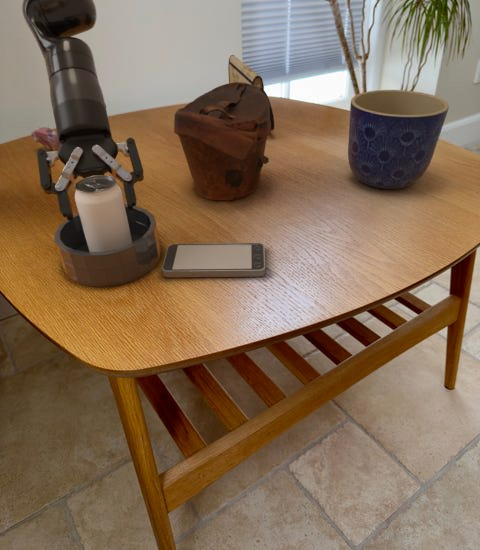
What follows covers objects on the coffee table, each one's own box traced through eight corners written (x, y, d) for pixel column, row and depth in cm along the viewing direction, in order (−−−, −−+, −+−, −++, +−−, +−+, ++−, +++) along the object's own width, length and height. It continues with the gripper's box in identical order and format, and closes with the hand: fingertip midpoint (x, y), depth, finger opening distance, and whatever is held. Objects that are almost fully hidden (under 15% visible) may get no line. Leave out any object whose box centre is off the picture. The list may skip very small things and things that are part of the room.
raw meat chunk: (42, 153, 108) (23, 132, 102) (54, 140, 110) (36, 118, 104) (68, 161, 104) (49, 139, 98) (79, 147, 105) (61, 125, 99)
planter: (356, 158, 97) (366, 85, 88) (436, 172, 90) (456, 95, 81) (329, 187, 85) (337, 108, 76) (418, 206, 78) (439, 121, 69)
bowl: (50, 288, 62) (38, 256, 58) (80, 234, 73) (72, 205, 70) (152, 285, 62) (146, 253, 58) (166, 232, 73) (162, 203, 70)
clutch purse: (281, 140, 107) (283, 75, 98) (254, 143, 106) (253, 77, 97) (250, 107, 131) (250, 52, 122) (228, 109, 129) (225, 53, 120)
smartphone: (265, 270, 62) (161, 271, 62) (265, 276, 62) (162, 277, 63) (264, 242, 68) (168, 243, 68) (263, 248, 68) (169, 249, 69)
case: (183, 216, 78) (172, 114, 67) (178, 171, 93) (168, 83, 83) (281, 206, 80) (284, 106, 69) (260, 164, 95) (260, 77, 85)
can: (107, 272, 64) (87, 198, 56) (83, 256, 67) (62, 184, 60) (142, 253, 67) (128, 181, 60) (118, 239, 71) (102, 169, 64)
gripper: (21, 101, 59) (42, 214, 57) (127, 91, 62) (150, 197, 61) (35, 128, 66) (54, 229, 64) (129, 118, 70) (150, 213, 68)
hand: (101, 213), depth 62 cm, fingers open, 8 cm apart
